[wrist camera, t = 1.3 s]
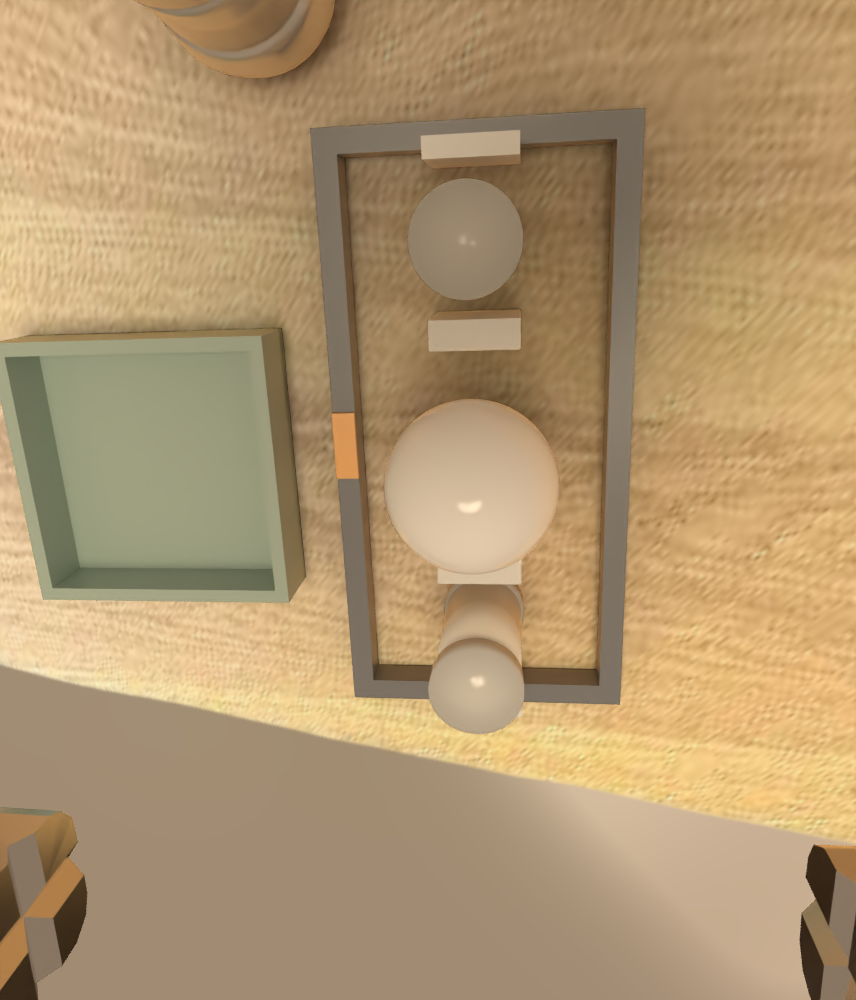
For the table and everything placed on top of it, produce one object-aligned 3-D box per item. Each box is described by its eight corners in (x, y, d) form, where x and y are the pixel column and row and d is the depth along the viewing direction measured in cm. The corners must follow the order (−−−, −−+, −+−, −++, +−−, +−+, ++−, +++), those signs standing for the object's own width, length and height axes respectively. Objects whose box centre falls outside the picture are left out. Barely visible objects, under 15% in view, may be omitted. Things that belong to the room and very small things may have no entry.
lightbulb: (580, 445, 35) (604, 530, 25) (472, 527, 37) (454, 638, 27) (490, 336, 34) (477, 378, 24) (384, 426, 36) (330, 502, 26)
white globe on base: (431, 194, 33) (404, 181, 25) (522, 190, 32) (523, 175, 25) (434, 288, 34) (410, 302, 26) (522, 285, 34) (523, 298, 26)
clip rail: (319, 132, 33) (293, 119, 29) (639, 114, 31) (656, 96, 27) (360, 681, 41) (344, 726, 37) (616, 687, 39) (626, 735, 35)
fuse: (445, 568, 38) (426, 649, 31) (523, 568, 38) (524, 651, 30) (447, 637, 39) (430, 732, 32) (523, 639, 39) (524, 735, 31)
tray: (29, 335, 37) (-12, 343, 34) (281, 327, 35) (261, 335, 32) (76, 574, 41) (42, 599, 38) (305, 576, 39) (289, 602, 36)
